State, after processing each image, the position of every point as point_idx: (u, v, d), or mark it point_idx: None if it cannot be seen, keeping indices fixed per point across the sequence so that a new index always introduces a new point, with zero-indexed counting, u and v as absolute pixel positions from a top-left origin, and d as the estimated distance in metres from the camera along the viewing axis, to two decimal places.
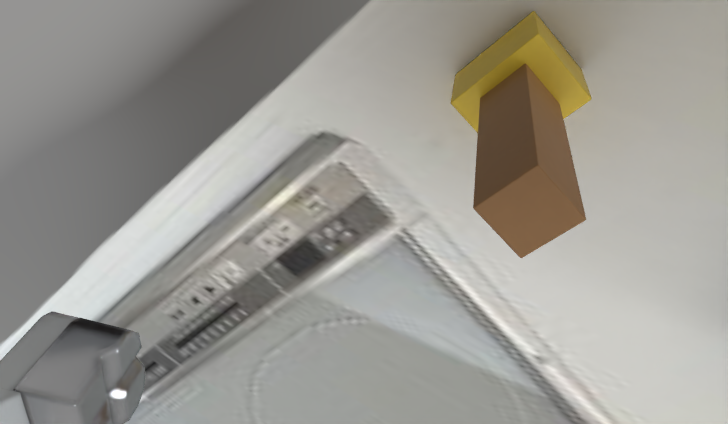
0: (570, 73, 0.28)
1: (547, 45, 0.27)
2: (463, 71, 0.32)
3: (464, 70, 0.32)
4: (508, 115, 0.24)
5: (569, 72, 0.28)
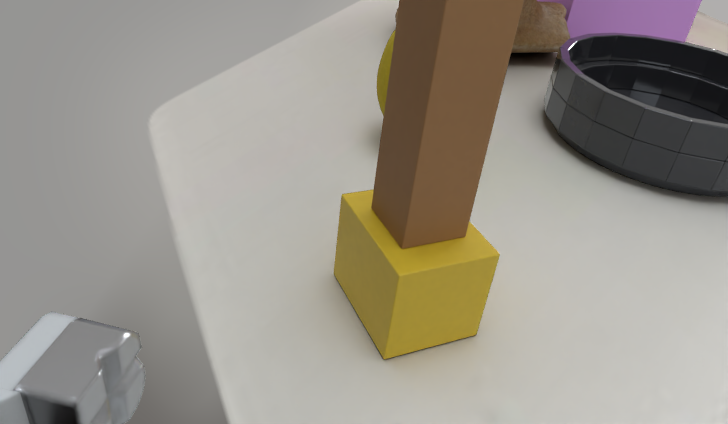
0: None
1: (358, 192, 0.24)
2: (378, 334, 0.22)
3: (377, 334, 0.22)
4: (399, 109, 0.20)
5: None
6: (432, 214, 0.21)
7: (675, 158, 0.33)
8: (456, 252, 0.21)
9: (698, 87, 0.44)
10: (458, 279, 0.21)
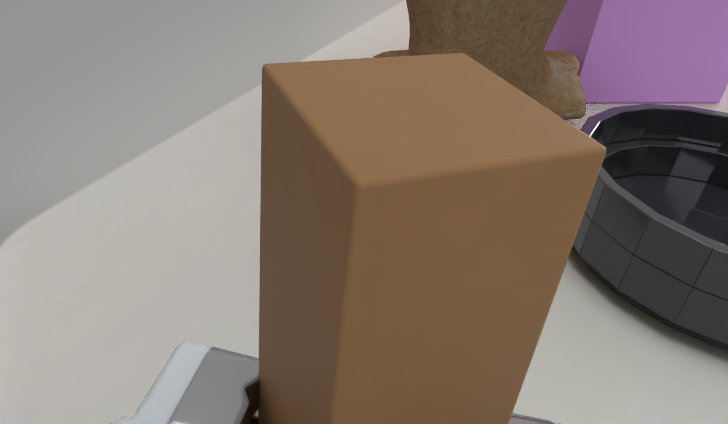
0: None
1: None
2: None
3: None
4: None
5: None
6: None
7: None
8: None
9: None
10: None
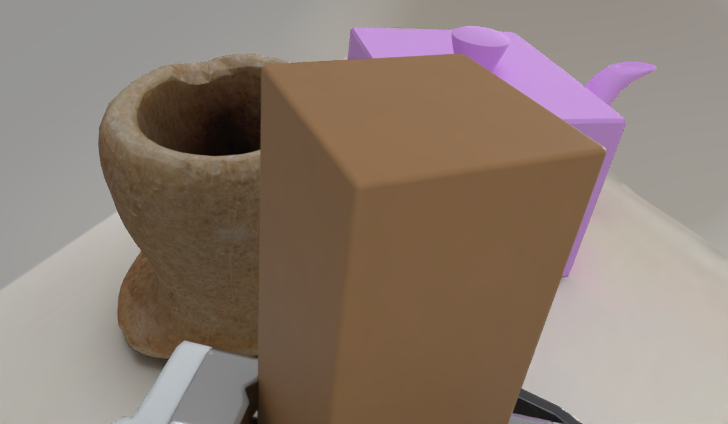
0: None
1: None
2: None
3: None
4: None
5: None
6: None
7: None
8: None
9: None
10: None
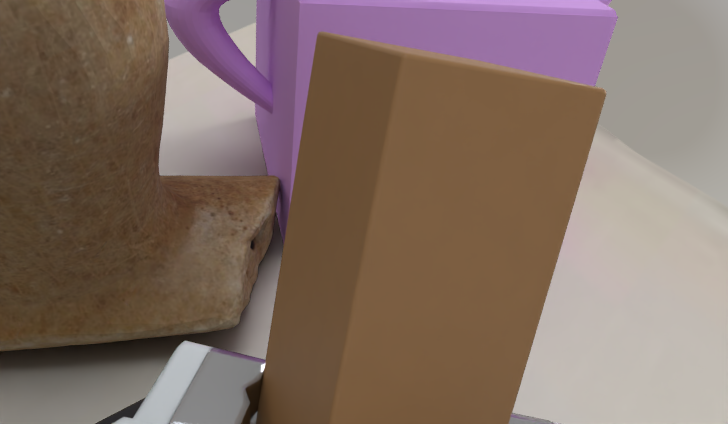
0: None
1: None
2: None
3: None
4: None
5: None
6: None
7: None
8: None
9: None
10: None
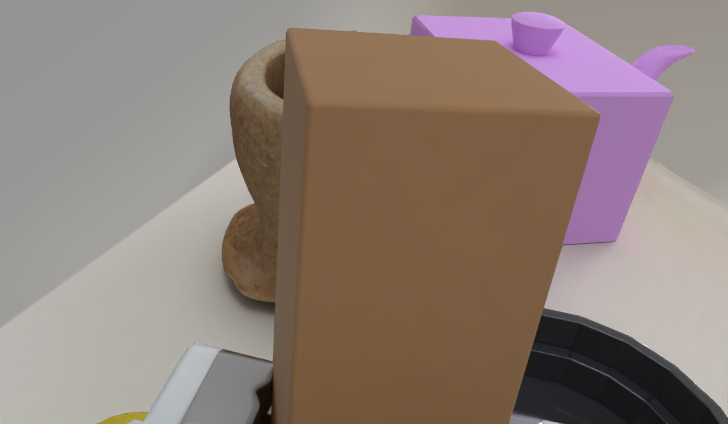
0: None
1: None
2: None
3: None
4: None
5: None
6: None
7: None
8: None
9: (608, 386, 0.31)
10: None
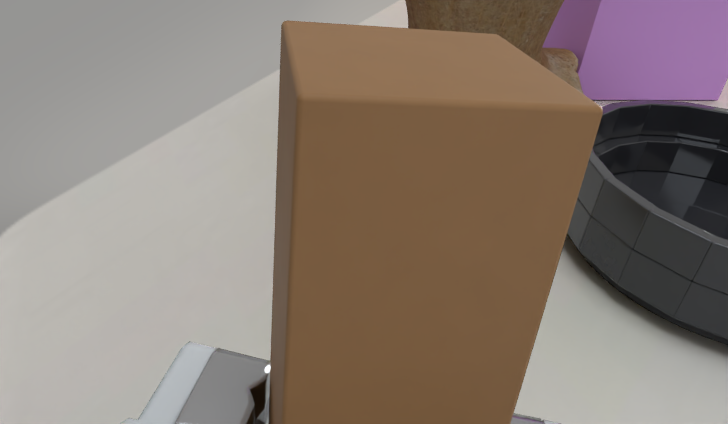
0: None
1: None
2: None
3: None
4: None
5: None
6: None
7: None
8: None
9: None
10: None
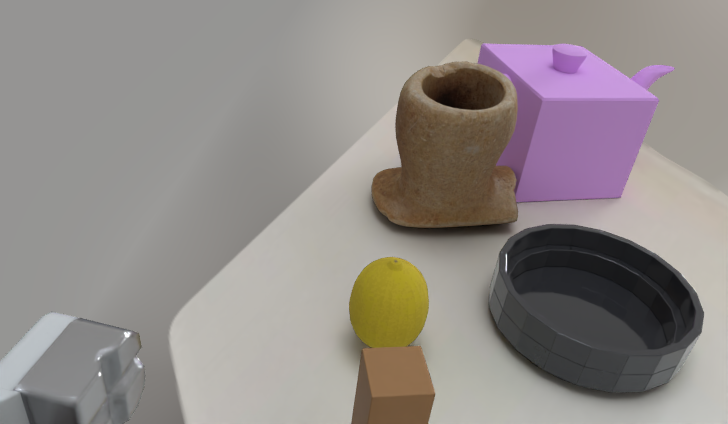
0: None
1: None
2: None
3: None
4: None
5: None
6: None
7: (582, 369, 0.42)
8: None
9: (618, 270, 0.53)
10: None
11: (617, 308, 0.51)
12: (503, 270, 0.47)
